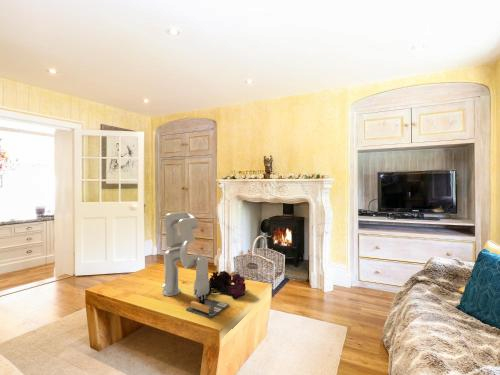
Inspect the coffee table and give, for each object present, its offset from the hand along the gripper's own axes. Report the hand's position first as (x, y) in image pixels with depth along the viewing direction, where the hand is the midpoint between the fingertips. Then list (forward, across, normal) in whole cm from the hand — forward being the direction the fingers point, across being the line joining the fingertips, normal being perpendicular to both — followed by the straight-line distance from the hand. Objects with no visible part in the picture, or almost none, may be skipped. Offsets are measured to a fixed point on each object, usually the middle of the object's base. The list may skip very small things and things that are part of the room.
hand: (202, 305), depth 165 cm
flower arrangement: (+3, -31, -4) cm, 31 cm away
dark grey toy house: (+3, -16, -15) cm, 22 cm away
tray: (+3, -4, +2) cm, 5 cm away
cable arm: (+1, +3, +3) cm, 4 cm away
